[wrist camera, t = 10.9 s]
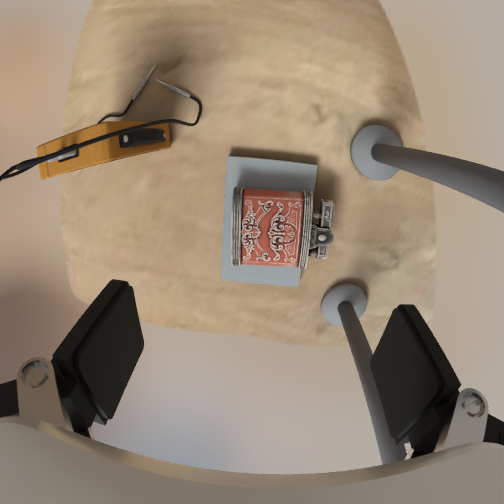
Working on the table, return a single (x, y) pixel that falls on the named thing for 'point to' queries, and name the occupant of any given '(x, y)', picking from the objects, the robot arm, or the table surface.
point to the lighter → (278, 228)
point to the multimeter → (102, 142)
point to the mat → (262, 178)
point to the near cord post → (424, 165)
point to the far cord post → (361, 359)
